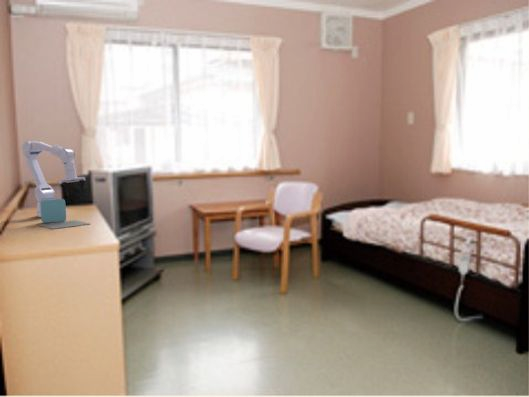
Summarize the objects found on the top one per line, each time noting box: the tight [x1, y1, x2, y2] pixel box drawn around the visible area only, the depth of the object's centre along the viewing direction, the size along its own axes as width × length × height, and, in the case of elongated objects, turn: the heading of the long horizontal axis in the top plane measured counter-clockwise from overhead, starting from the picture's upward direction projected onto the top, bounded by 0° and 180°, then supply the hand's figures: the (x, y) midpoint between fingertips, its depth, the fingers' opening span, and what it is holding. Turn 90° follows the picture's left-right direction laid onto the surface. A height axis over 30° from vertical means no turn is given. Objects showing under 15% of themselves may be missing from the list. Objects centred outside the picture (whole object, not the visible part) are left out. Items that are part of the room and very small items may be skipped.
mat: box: [37, 219, 91, 230], centre depth 241 cm, size 16×20×1 cm
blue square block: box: [40, 198, 67, 224], centre depth 248 cm, size 12×4×12 cm, turn 113°
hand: (75, 194), depth 258 cm, fingers open, 7 cm apart
